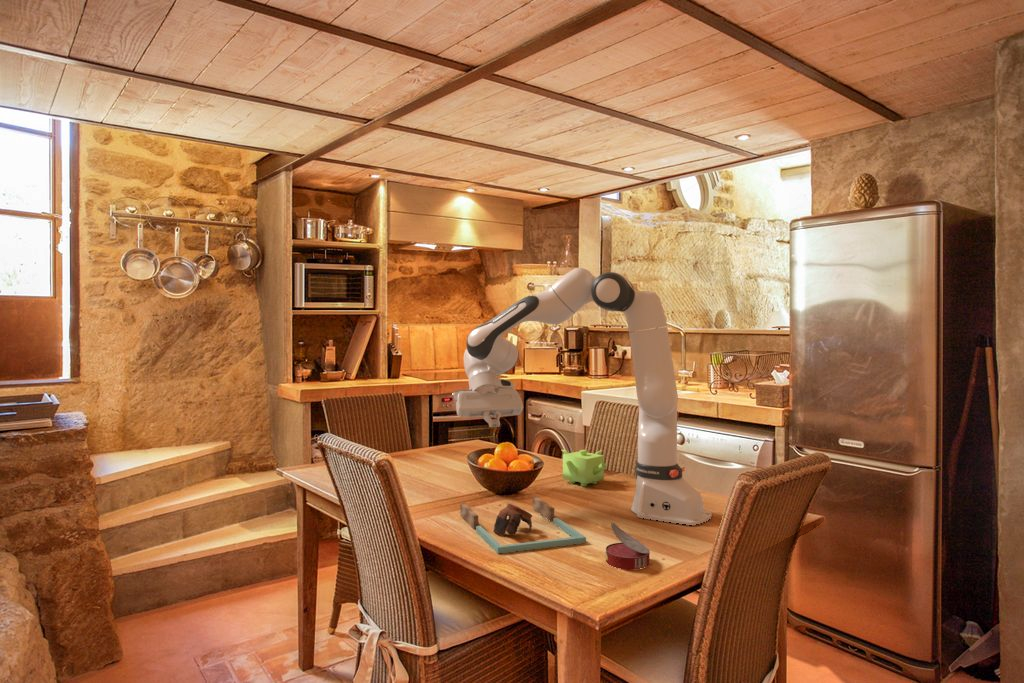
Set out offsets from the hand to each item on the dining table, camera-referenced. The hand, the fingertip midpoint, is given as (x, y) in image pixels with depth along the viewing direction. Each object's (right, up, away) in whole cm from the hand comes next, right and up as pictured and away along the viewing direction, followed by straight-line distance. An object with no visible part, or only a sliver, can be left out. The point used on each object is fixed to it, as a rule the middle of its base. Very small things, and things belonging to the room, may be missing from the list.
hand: (494, 425), depth 192 cm
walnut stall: (+4, -24, -9) cm, 26 cm away
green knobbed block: (+29, -24, +32) cm, 50 cm away
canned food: (+31, -26, -42) cm, 58 cm away
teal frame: (+9, -25, -26) cm, 37 cm away
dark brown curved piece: (+5, -25, -22) cm, 34 cm away
